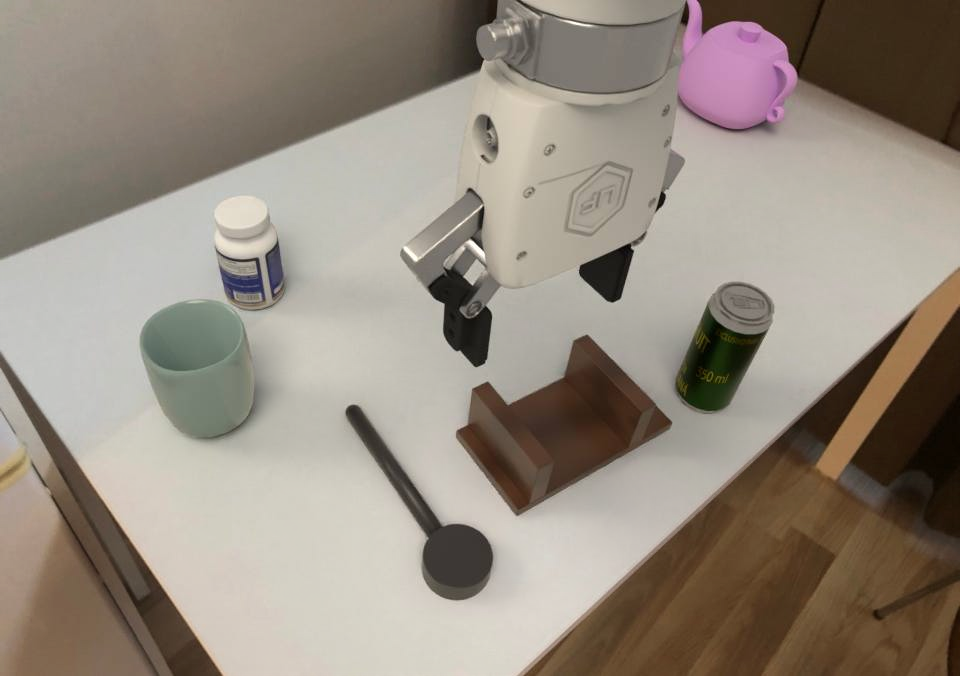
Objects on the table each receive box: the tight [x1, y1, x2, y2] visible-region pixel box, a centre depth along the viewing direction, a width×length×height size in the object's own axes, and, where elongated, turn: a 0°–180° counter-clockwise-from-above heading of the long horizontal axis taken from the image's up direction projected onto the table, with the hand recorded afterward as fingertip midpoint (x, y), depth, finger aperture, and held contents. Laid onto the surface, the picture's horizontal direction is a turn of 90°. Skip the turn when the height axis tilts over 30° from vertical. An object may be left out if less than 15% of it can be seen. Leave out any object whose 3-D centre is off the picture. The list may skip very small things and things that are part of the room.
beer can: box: [674, 281, 775, 414], centre depth 70 cm, size 5×5×12 cm
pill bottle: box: [213, 195, 286, 311], centre depth 74 cm, size 6×6×10 cm
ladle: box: [344, 403, 494, 601], centre depth 63 cm, size 5×20×2 cm, turn 34°
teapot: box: [678, 0, 798, 130], centre depth 106 cm, size 20×13×12 cm, turn 39°
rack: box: [455, 333, 673, 517], centre depth 67 cm, size 9×17×6 cm, turn 124°
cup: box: [138, 298, 255, 439], centre depth 64 cm, size 8×8×10 cm
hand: (535, 317), depth 46 cm, fingers open, 9 cm apart
